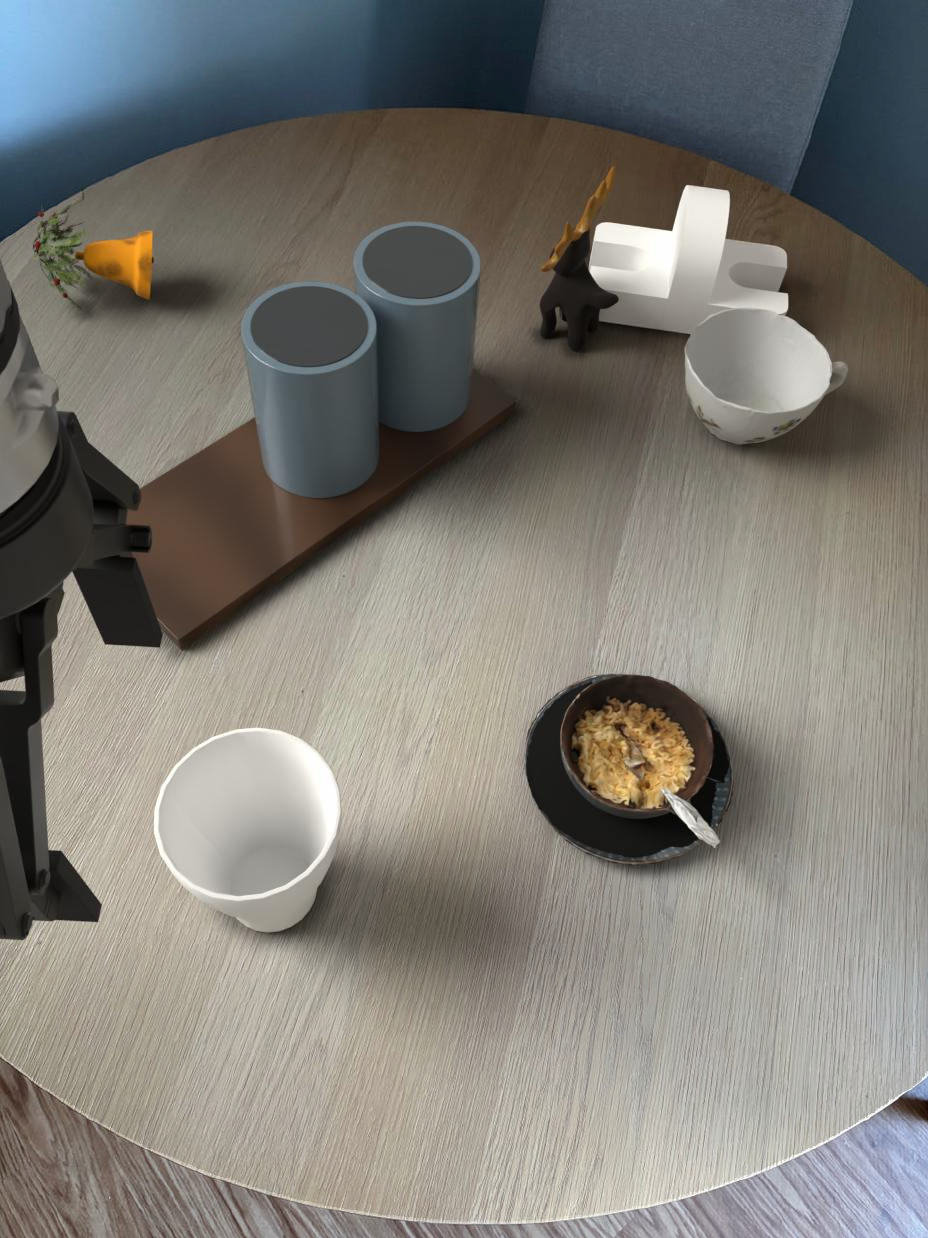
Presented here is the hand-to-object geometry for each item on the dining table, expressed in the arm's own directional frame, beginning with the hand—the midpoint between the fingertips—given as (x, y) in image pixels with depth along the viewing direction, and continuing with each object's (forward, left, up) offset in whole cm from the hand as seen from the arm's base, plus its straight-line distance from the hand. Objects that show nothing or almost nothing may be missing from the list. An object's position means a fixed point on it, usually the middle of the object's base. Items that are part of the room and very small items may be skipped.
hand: (103, 765), depth 48 cm
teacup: (+55, +34, -25) cm, 69 cm away
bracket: (+55, +51, -25) cm, 79 cm away
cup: (+6, +1, -25) cm, 25 cm away
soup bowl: (+32, +3, -25) cm, 40 cm away
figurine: (+42, +48, -25) cm, 68 cm away
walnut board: (+14, +36, -25) cm, 46 cm away
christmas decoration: (+4, +61, -25) cm, 66 cm away
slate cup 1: (+16, +37, -23) cm, 46 cm away
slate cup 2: (+25, +43, -23) cm, 55 cm away
